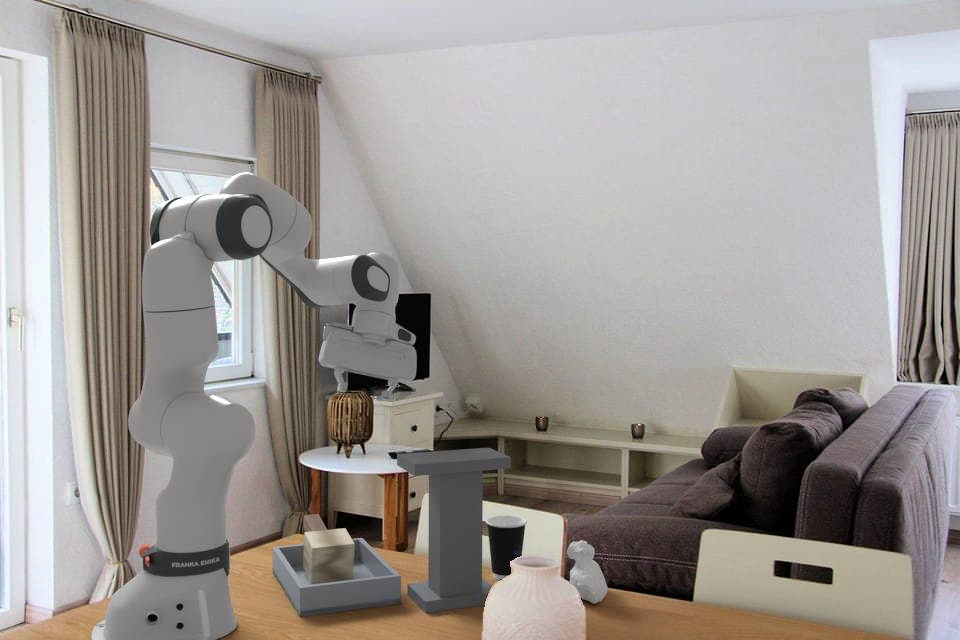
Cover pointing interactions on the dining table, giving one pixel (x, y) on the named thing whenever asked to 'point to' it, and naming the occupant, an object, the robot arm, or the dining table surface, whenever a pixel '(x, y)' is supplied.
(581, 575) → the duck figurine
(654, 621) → the dining table surface
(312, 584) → the tray
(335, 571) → the mallet
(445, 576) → the stand
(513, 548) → the dixie cup
